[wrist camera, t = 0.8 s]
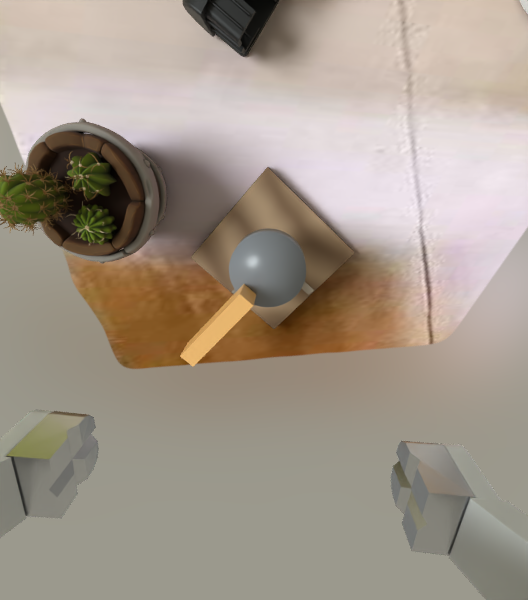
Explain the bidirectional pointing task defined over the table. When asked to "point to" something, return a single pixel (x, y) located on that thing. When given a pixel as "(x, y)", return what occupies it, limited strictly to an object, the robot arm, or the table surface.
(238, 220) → the base plate
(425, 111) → the table surface
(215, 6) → the black slotted holder
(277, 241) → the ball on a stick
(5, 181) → the flowerpot
